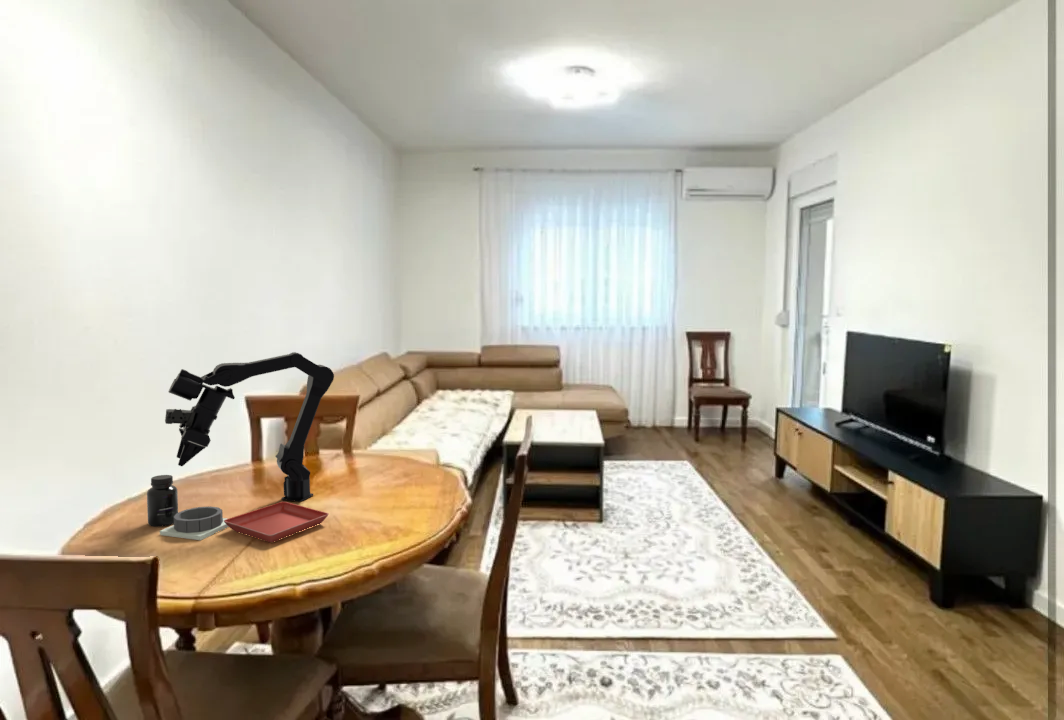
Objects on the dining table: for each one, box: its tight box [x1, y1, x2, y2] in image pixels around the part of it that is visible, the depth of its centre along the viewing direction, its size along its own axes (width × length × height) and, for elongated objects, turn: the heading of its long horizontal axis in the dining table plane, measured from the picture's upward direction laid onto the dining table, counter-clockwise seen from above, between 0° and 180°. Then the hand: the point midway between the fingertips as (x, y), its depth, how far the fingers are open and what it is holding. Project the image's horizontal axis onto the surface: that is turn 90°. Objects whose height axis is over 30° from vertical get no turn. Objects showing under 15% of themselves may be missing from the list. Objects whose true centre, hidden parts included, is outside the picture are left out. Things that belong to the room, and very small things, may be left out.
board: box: [159, 517, 230, 541], centre depth 162 cm, size 12×12×1 cm
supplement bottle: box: [146, 474, 179, 528], centre depth 165 cm, size 7×7×12 cm
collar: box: [173, 506, 224, 533], centre depth 161 cm, size 10×10×3 cm
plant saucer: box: [224, 501, 329, 543], centre depth 163 cm, size 18×18×3 cm
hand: (179, 461), depth 170 cm, fingers open, 9 cm apart
